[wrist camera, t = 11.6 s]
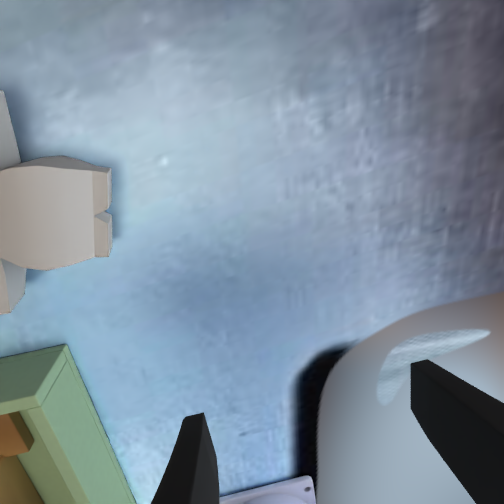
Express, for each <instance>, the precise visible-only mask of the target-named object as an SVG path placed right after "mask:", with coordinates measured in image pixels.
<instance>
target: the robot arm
mask: <svg viewBox="0 0 504 504" xmlns="http://www.w3.org/2000/svg"><path fill="white" fill-rule="evenodd" d="M411 410H412V412H413V413H414V415H415V417H416V419H417V420H418V422H419V424H420V426H421V428H422V429H423V431H424V432H425V434H426V436H427V437H428V439H429V440H430V442H431V443H432V445H433V446H434V447H435V449H436V450H437V451H438V453H439V454H440V456H441V457H442V458H443V460H444V461H445V462H446V464H447V465H448V466H449V468H450V469H451V470H452V472H453V473H454V474H455V476H456V477H457V478H458V480H459V481H460V482H461V484H462V485H463V487H464V488H465V489H466V491H467V492H468V493H469V495H470V496H471V497H472V499H473V500H474V501H475V503H476V504H504V403H502V402H501V401H499V400H497V399H495V398H493V397H491V396H489V395H488V394H486V393H484V392H483V391H481V390H479V389H477V388H476V387H474V386H472V385H470V384H469V383H467V382H465V381H464V380H462V379H460V378H458V377H457V376H455V375H453V374H452V373H450V372H448V371H447V370H445V369H443V368H442V367H440V366H438V365H436V364H434V363H433V362H431V361H429V360H428V359H427V360H423V361H419V362H415V363H411ZM151 504H316V500H315V493H314V487H313V481H312V478H311V477H310V476H302V477H298V478H294V479H290V480H286V481H282V482H278V483H274V484H270V485H266V486H262V487H258V488H255V489H251V490H247V491H243V492H239V493H235V494H231V495H227V496H223V497H219V480H218V468H217V458H216V453H215V450H214V446H213V443H212V440H211V436H210V433H209V429H208V426H207V422H206V419H205V415H204V413H200V414H196V415H191V416H187V417H185V418H184V420H183V422H182V425H181V429H180V432H179V435H178V438H177V441H176V444H175V447H174V449H173V452H172V455H171V458H170V460H169V463H168V465H167V468H166V470H165V473H164V475H163V478H162V480H161V482H160V485H159V487H158V489H157V492H156V494H155V496H154V498H153V500H152V502H151Z"/></svg>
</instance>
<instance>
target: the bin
mask: <svg viewBox="0 0 504 504" xmlns="http://www.w3.org/2000/svg"><path fill="white" fill-rule="evenodd" d="M16 411H19V413H20V415H21V417H22V418H23V420H24V422H25V424H26V426H27V428H28V429H29V431H30V433H31V435H32V437H33V439H34V443H33V445H32V447H31V449H30V451H29V452H26V453H22V454H18V455H16V456H17V458H18V459H19V461H20V463H21V464H22V466H23V468H24V470H25V471H26V473H27V475H28V477H29V478H30V480H31V482H32V483H33V485H34V487H35V489H36V490H37V492H38V494H39V495H40V497H41V499H42V501H43V502H44V504H136V502H135V500H134V498H133V495H132V493H131V491H130V488H129V486H128V484H127V482H126V479H125V477H124V475H123V472H122V470H121V468H120V466H119V463H118V461H117V459H116V456H115V454H114V452H113V449H112V447H111V445H110V443H109V440H108V438H107V436H106V433H105V431H104V429H103V427H102V424H101V422H100V420H99V417H98V415H97V413H96V411H95V408H94V406H93V404H92V401H91V399H90V397H89V394H88V392H87V390H86V388H85V385H84V383H83V381H82V378H81V376H80V374H79V372H78V369H77V367H76V365H75V362H74V360H73V358H72V355H71V353H70V351H69V349H68V346H67V344H64V345H60V346H55V347H51V348H46V349H42V350H37V351H32V352H28V353H23V354H19V355H14V356H9V357H5V358H0V415H3V414H8V413H12V412H16Z"/></svg>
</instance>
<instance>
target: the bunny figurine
mask: <svg viewBox="0 0 504 504" xmlns="http://www.w3.org/2000/svg"><path fill="white" fill-rule="evenodd" d="M111 202H112V175H111V168H106V167H99V166H95V165H92V164H90V163H87V162H84V161H82V160H78V159H74V158H70V157H66V156H51V157H42V158H38V159H35V160H31V161H27V162H24V163H21V159H20V155H19V151H18V146H17V142H16V138H15V134H14V130H13V126H12V122H11V118H10V114H9V110H8V106H7V102H6V98H5V95H4V91H2V90H0V315H1V314H8V313H11V312H12V310H13V309H14V308H15V306H16V305H17V304H18V302H19V301H20V300H21V298H22V297H23V295H24V294H25V282H26V268H29V269H37V270H46V271H47V270H52V269H56V268H61V267H66V266H70V265H73V264H76V263H79V262H82V261H85V260H88V259H91V258H94V257H109V255H110V252H111V249H112V215H110V214H109V213H107V212H105V210H107V209H108V208H109V206H110V204H111Z"/></svg>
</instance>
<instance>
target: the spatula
mask: <svg viewBox="0 0 504 504" xmlns="http://www.w3.org/2000/svg"><path fill="white" fill-rule="evenodd" d="M33 443H34V439H33V437H32V435H31V433H30V431H29V429H28V428H27V426H26V424H25V422H24V420H23V418H22V417H21V415H20V413H19V411H16V412H12V413H8V414H3V415H0V504H44V502H43V501H42V499H41V497H40V495H39V494H38V492H37V490H36V489H35V487H34V485H33V483H32V482H31V480H30V478H29V477H28V475H27V473H26V471H25V470H24V468H23V466H22V464H21V463H20V461H19V459H18V458H17V456H16V455H18V454H22V453H26V452H29V451H30V449H31V447H32V445H33Z"/></svg>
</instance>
